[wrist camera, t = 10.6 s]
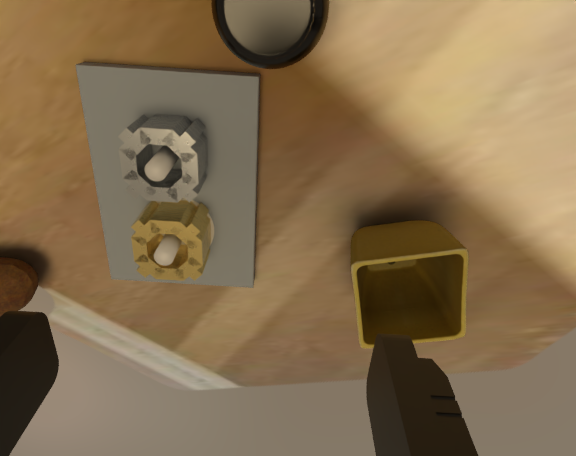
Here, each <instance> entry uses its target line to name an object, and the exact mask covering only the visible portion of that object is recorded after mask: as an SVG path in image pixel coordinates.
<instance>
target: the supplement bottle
mask: <svg viewBox="0 0 576 456" xmlns="http://www.w3.org/2000/svg"><path fill="white" fill-rule="evenodd" d="M328 12H329V0H212V13H213V19H214V22H215V25H216V28H217V31H218V33H219V35H220V37H221V39H222V40H223V42H224V43H225V45H226V46H227V47H228V48H229V50H230V51H231V52H232V53H233V54H234V55H236V56H237V57H238V58H240V59H241V60H243V61H244V62H246V63H248V64H250V65H253V66H256V67H259V68H264V69H278V68H284V67H287V66H290V65H293V64H295V63H297V62H298V61H300V60H302V59H303V58H304V57H306V56H307V55H308V54H309V53H310V52H311V51H312V50H313V49H314V47H315V46H316V45H317V43H318V42H319V40H320V38H321V36H322V34H323V32H324V29H325V26H326V23H327V19H328Z"/></svg>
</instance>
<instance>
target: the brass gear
mask: <svg viewBox="0 0 576 456" xmlns="http://www.w3.org/2000/svg"><path fill="white" fill-rule="evenodd" d="M208 212H209V209H208V208H207V207H206V206H205V205H204V204H203V203H200V204H199V205H197V206H196V205H195V204H194V203H193V202H191V201H190V202H188V201H186V200H180V201H179V202H178V203H177V202H160V203H159V204H158V203H157V202H156V201H151V202H150V203H148V204H147V205H146V206H145V208H144V209H143V211H142V212H141V213H140V215H139V216H138V218H137V219H136V220H135V222H134V223H133V225H132V226H131V228H132V229H133V230H135V232H134V233H133V235H132V236H131V240H132V248H133V255H134V262H136V263H137V264H138V265H139V267H138V269H137V270H136V271H137V272H139V273H140V274H141V275H142V276H144V277H145V278H146V277H147V276H148V275H149V274H150V275H152V276H153V277H154V278H155V279H162V280H178V281H184V280H185V279H187V278H188V277H190V278H192V279H193V280H194V281H195V280H196V279H197V278H199V277H200V276H201V275H202V274H203V271H204V268H205V265H206V262H207V259H208V256H209V253H210V249H209V246H210V243H211V223H210V218H209V217H208V216H207V214H208ZM162 234H175V235H176V236H177V237H178V238H179V239H180V240H181V241H183V242H184V243H185V244H186V245H180V247H179V249H178V251H177V254H176V256H175V258H174V260H173V262H172V263H171V264H170V265H167V266H163V265H160V264H158V263H157V262H156V261H155V259H154V253H155V251H156V250H157V248H158V246H159V244H160V242H161V240H162V239H163V237H164V236H163V235H162Z"/></svg>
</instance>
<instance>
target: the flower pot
mask: <svg viewBox="0 0 576 456" xmlns="http://www.w3.org/2000/svg"><path fill="white" fill-rule="evenodd" d="M389 262H393V263H389ZM468 262H469V255H468V250H467V249H466V248H465V247H464V246H463V245H462V244H461V243H460V242H459V241H458V240H457V239H456V238H455V237H454V236H452V235H451V234H450V233H449V232H448V231H447V230H446V229H445V228H444V227H442V226H441V225H439V224H437V223H434V222H431V221H424V220H412V221H404V222H397V223H389V224H381V225H373V226H367V227H363V228H360V229H358V230H357V231H356V232H355V233H354V234H353V236H352V239H351V275H352V282H353V290H354V298H355V307H356V316H357V326H358V338H359V344H360V346H361V347H362V348H374V344H375V339H376V336H377V334H396V335H409V336H410V337H411V339H412V342H413V343H423V342H434V341H444V340H453V339H457V338H461V337H464V336H465V334H466V291H467V276H468Z"/></svg>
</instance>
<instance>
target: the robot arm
mask: <svg viewBox="0 0 576 456" xmlns="http://www.w3.org/2000/svg"><path fill="white" fill-rule="evenodd" d="M58 366H59V360H58V355H57V351H56V348H55V344H54V340H53V337H52V333H51V329H50V325H49V322H48V318H47V316H46V315H45V314H44V313H42V312H26V311H7V312H5V313H4V314H3V315H2V316H1V317H0V456H9V455H10V453H11V451H12V450H13V448H14V447H15V445H16V443H17V441H18V440H19V438H20V437H21V435H22V434H23V432H24V430H25V429H26V427H27V426H28V424H29V422H30V421H31V419H32V418H33V416H34V414H35V413H36V411H37V409H38V408H39V406H40V405H41V403H42V402H43V400H44V398H45V397H46V395H47V394H48V392H49V390H50V389H51V387H52V385H53V384H54V382H55V379H56V376H57V373H58ZM367 405H368V411H369V417H370V422H371V428H372V434H373V440H374V446H375V452H376V456H478V454H477V451H476V449H475V446H474V444H473V441H472V439H471V436H470V434H469V431H468V428H467V426H466V423H465V421H464V418H462V413H461V411H460V408H459V405H458V403H457V401H455V395H454V393H453V390H452V388H451V385H450V382H449V380H448V377H447V376H446V375H445V373H444V372H443V371H442V370H441V369H440V368H439V367H438V365H437V364H436V363H435V362H434V361H433V360H432V359H426V358H418V357H417V354H416V351H415V348H414V345H413V342H412V339H411V337H410V336H409V335H396V334H377V336H376V339H375V344H374V348H373V353H372V358H371V363H370V367H369V372H368V377H367Z"/></svg>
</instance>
